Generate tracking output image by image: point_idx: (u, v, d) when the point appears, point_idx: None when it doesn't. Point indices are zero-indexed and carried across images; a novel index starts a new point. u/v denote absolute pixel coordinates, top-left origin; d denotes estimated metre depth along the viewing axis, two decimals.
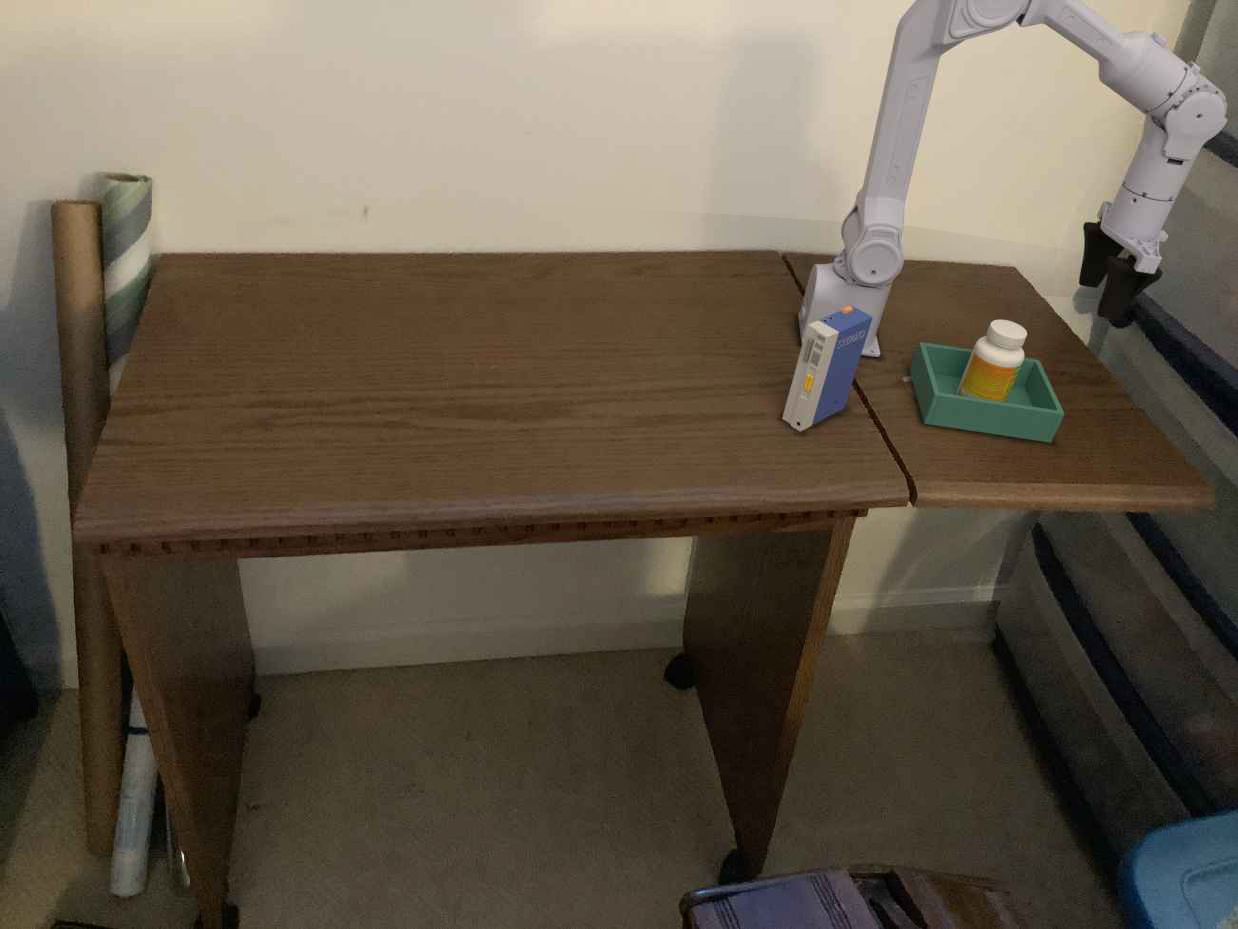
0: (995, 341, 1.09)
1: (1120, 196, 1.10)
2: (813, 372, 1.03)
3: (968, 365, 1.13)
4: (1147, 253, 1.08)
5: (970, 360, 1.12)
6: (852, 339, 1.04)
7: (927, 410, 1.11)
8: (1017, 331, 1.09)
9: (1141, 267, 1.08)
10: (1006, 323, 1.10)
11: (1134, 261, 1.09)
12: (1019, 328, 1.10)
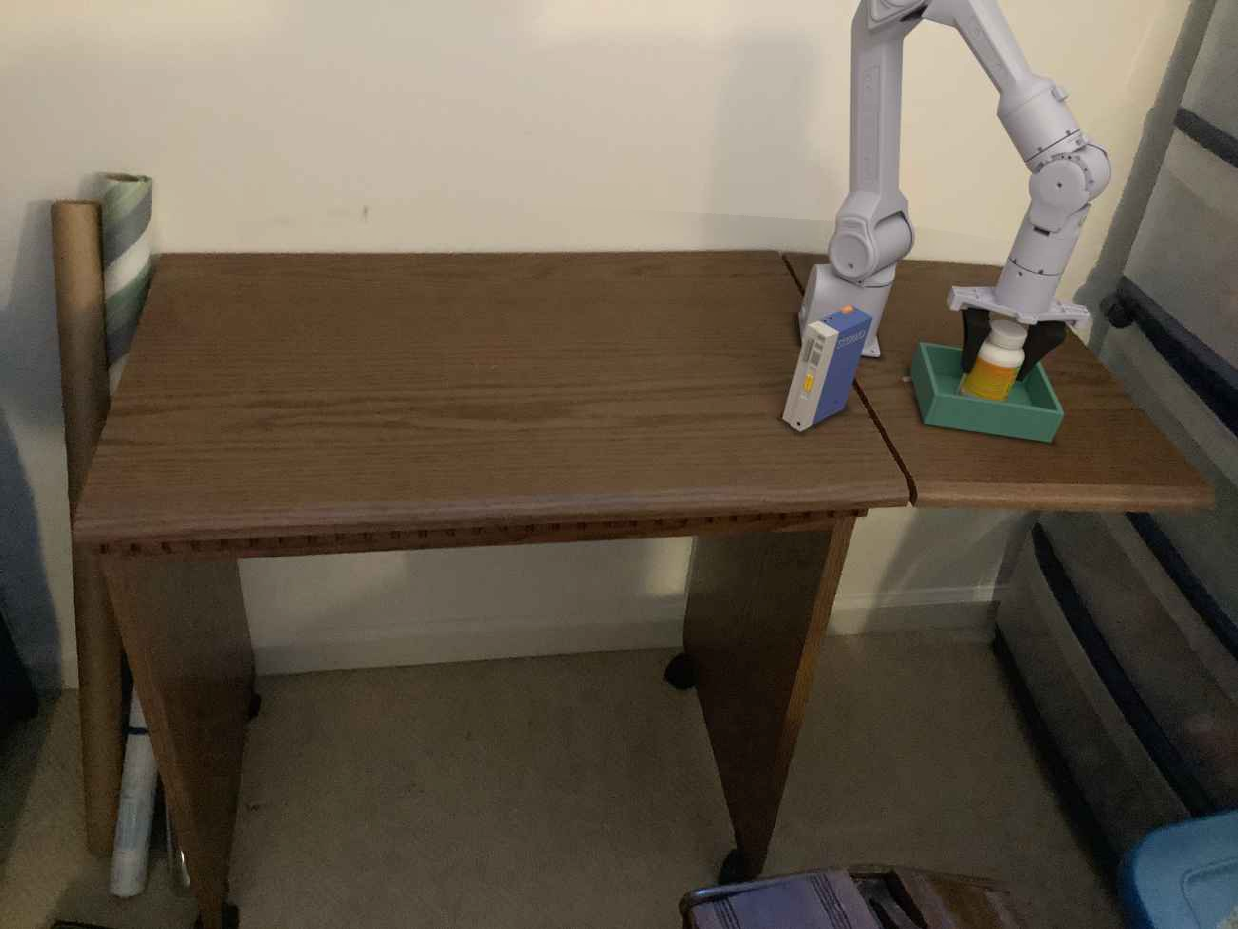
0: (995, 341, 1.09)
1: None
2: (812, 372, 1.03)
3: None
4: None
5: None
6: (852, 339, 1.04)
7: (927, 410, 1.11)
8: (1018, 331, 1.09)
9: (948, 298, 1.09)
10: (1006, 323, 1.10)
11: None
12: (1019, 328, 1.10)
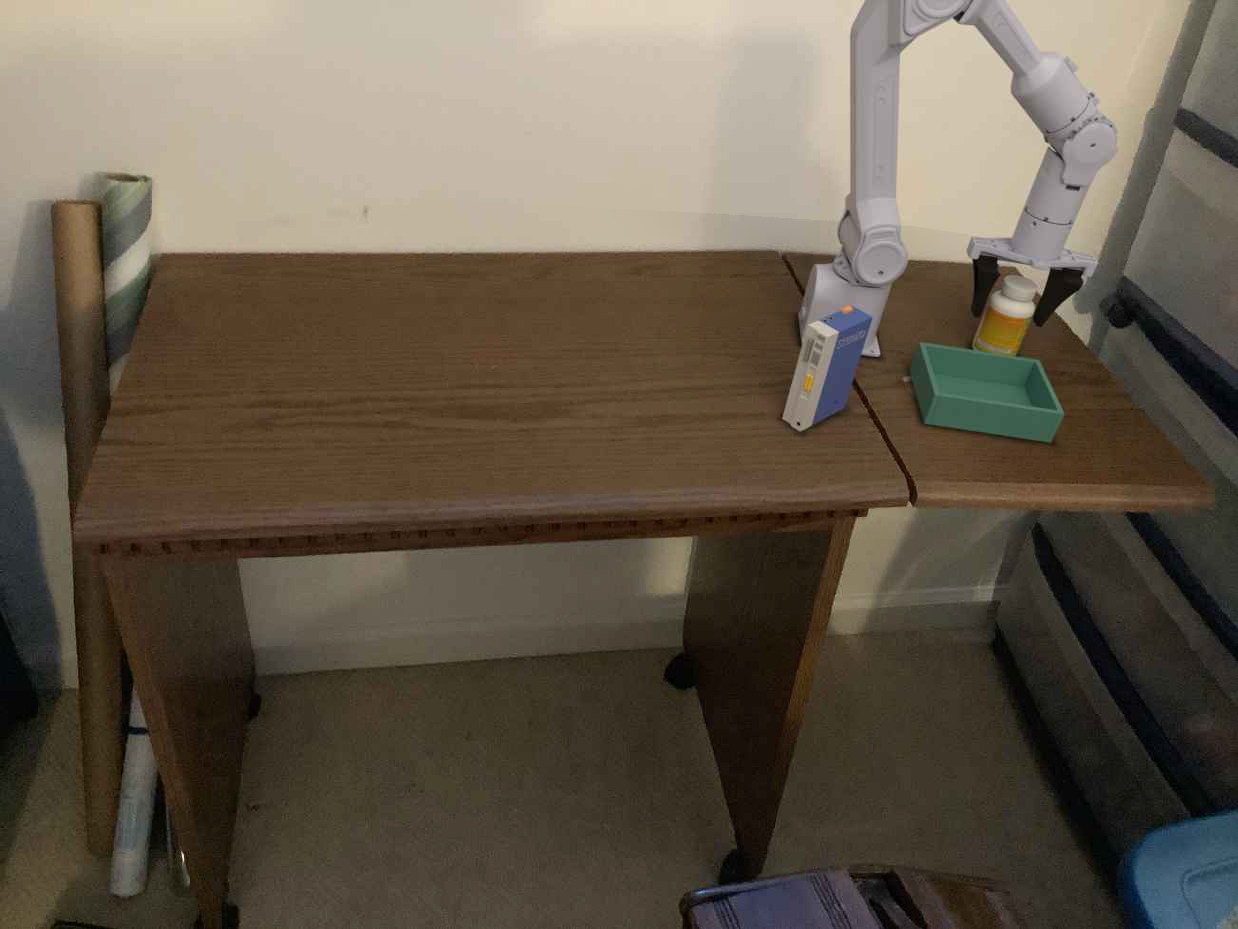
0: (1008, 294, 1.20)
1: None
2: (812, 372, 1.03)
3: (983, 317, 1.23)
4: None
5: (985, 313, 1.23)
6: (852, 339, 1.04)
7: (927, 410, 1.11)
8: (1029, 285, 1.20)
9: (968, 248, 1.19)
10: (1018, 278, 1.21)
11: None
12: (1030, 282, 1.21)
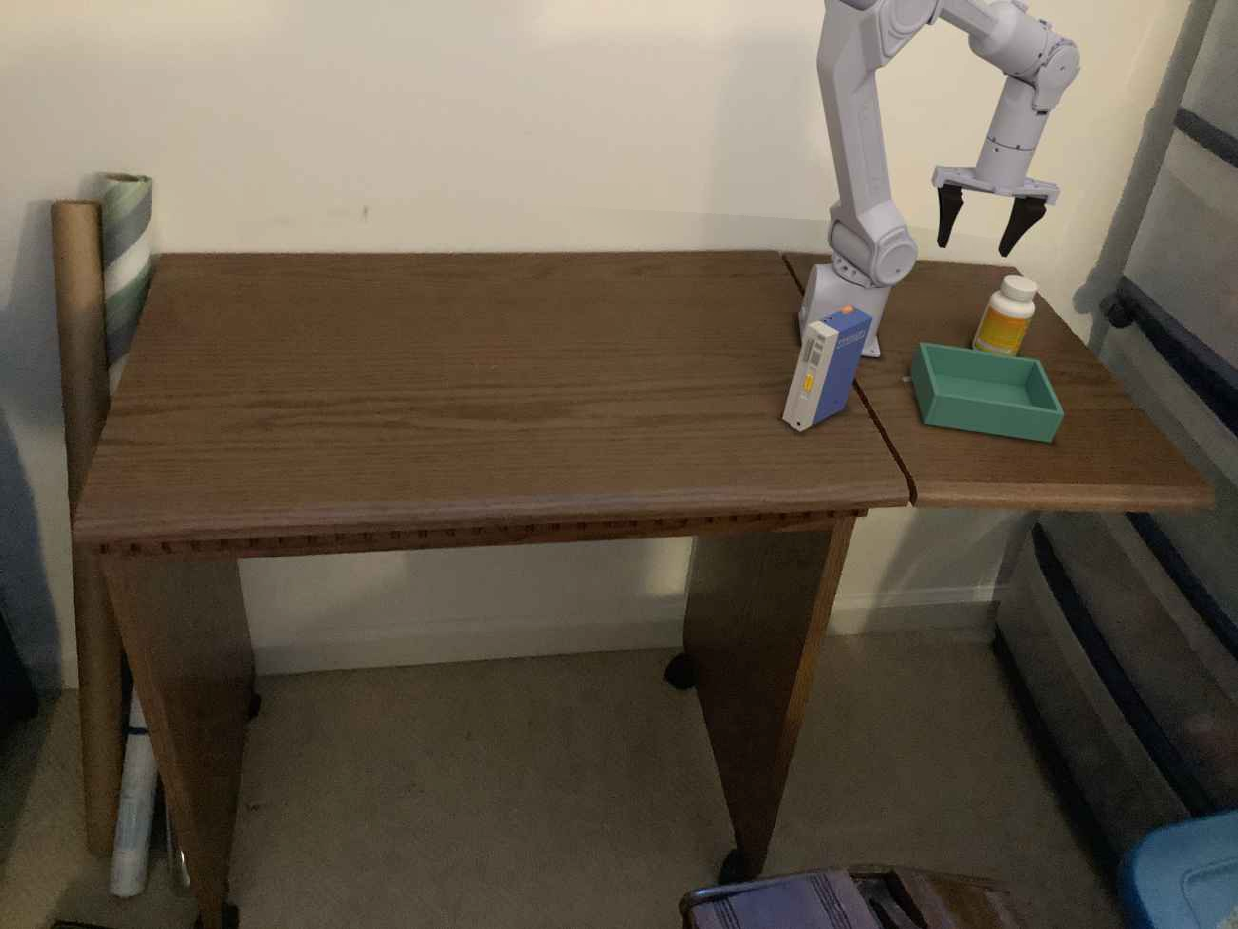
0: (1008, 294, 1.20)
1: None
2: (812, 372, 1.03)
3: (983, 317, 1.23)
4: None
5: (985, 313, 1.23)
6: (852, 339, 1.04)
7: (927, 410, 1.11)
8: (1029, 285, 1.20)
9: (932, 177, 1.20)
10: (1018, 278, 1.21)
11: None
12: (1030, 282, 1.21)
